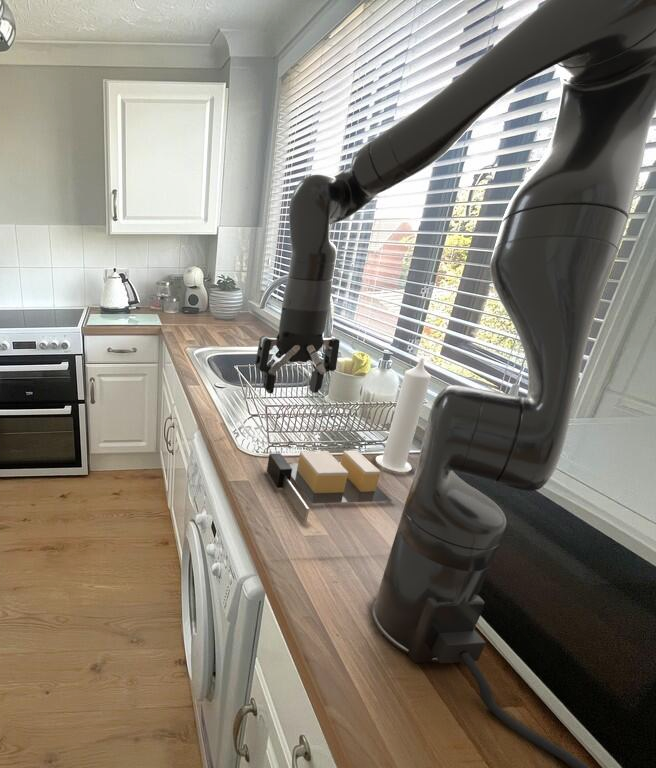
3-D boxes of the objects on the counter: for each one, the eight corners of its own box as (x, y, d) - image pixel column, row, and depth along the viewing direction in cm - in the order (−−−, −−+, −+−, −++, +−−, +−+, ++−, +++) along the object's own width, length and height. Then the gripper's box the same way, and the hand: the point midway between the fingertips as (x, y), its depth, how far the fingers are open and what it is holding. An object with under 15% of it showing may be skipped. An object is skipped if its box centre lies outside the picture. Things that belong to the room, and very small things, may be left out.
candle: (367, 460, 93) (393, 354, 84) (391, 455, 96) (419, 351, 87) (393, 477, 87) (425, 364, 78) (418, 472, 89) (452, 362, 80)
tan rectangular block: (343, 492, 80) (348, 472, 79) (314, 493, 80) (318, 473, 78) (323, 469, 88) (327, 450, 86) (296, 470, 87) (300, 451, 86)
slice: (375, 491, 81) (380, 471, 79) (360, 491, 81) (365, 471, 79) (352, 469, 88) (357, 450, 87) (339, 469, 88) (343, 450, 86)
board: (391, 504, 78) (392, 500, 78) (310, 507, 77) (311, 503, 77) (351, 464, 92) (351, 461, 91) (281, 466, 90) (281, 463, 90)
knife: (266, 474, 87) (269, 453, 85) (277, 473, 87) (280, 453, 86) (298, 525, 72) (302, 501, 71) (311, 524, 73) (316, 501, 71)
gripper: (333, 301, 75) (318, 384, 81) (257, 300, 74) (247, 384, 80) (356, 309, 68) (337, 399, 74) (273, 308, 67) (260, 400, 73)
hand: (291, 391), depth 77 cm, fingers open, 8 cm apart
